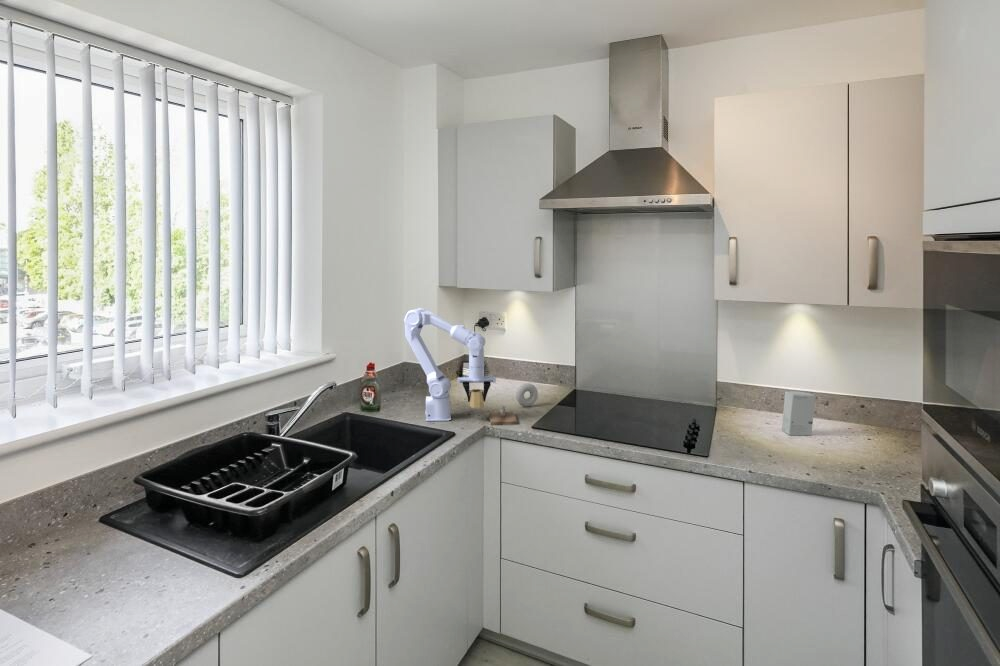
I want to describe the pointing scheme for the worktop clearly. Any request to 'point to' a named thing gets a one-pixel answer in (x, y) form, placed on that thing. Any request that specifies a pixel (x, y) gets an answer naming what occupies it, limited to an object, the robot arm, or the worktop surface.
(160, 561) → the worktop surface
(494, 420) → the shaft stand
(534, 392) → the donut
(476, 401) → the hub
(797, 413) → the skincare box
